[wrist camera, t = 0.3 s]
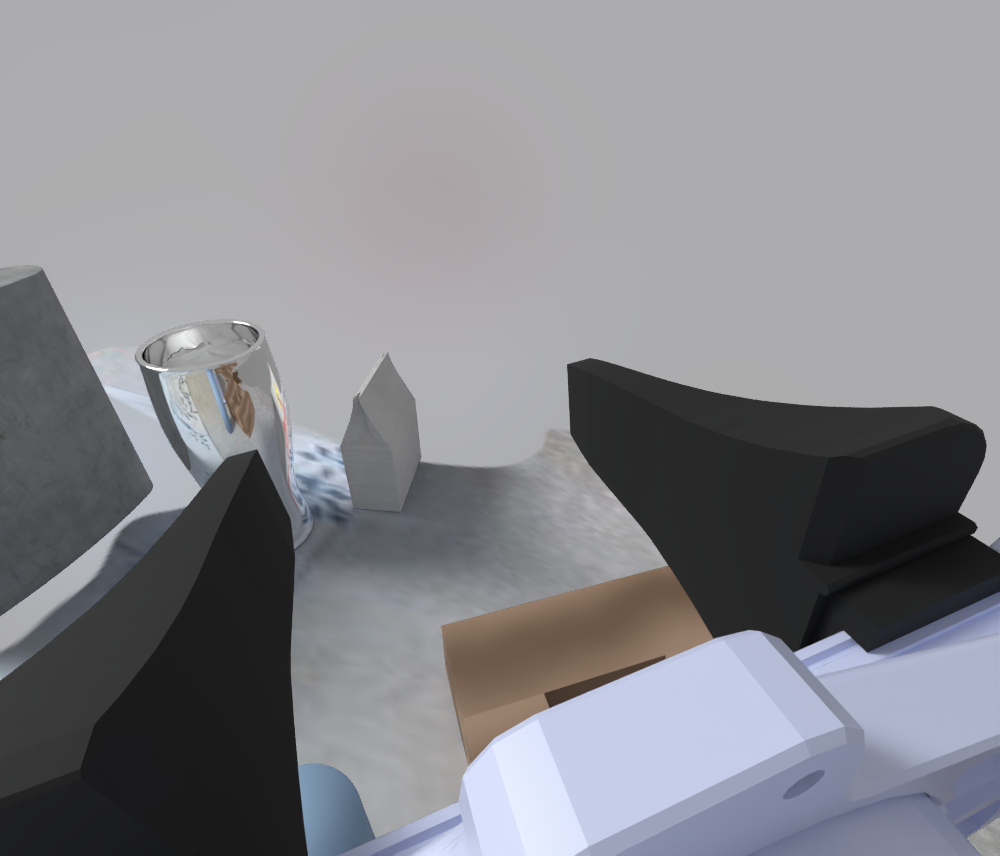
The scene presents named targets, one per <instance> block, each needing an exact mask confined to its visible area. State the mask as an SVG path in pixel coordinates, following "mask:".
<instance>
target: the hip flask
mask: <svg viewBox="0 0 1000 856" xmlns="http://www.w3.org/2000/svg"><path fill="white" fill-rule="evenodd" d="M152 488H153V484H152V482H151V480H150V478H149V476H148V474H147V472H146V470H145V468H144V466H143V464H142V462H141V461H140V458H139V456H138V455H137V453H136V451H135V449H134V447H133V445H132V443H131V441H130V439H129V437H128V435H127V433H126V431H125V429H124V427H123V425H122V423H121V421H120V419H119V417H118V416H117V414H116V411H115V410H114V408H113V406H112V404H111V402H110V400H109V398H108V396H107V394H106V392H105V390H104V388H103V386H102V384H101V382H100V380H99V378H98V376H97V374H96V372H95V370H94V368H93V366H92V365H91V363H90V361H89V359H88V357H87V355H86V353H85V351H84V349H83V347H82V345H81V343H80V341H79V339H78V337H77V335H76V333H75V331H74V329H73V328H72V325H71V323H70V322H69V320H68V318H67V316H66V314H65V312H64V310H63V308H62V306H61V304H60V302H59V300H58V298H57V296H56V294H55V292H54V290H53V288H52V287H51V284H50V282H49V281H48V279H47V277H46V275H45V273H44V271H43V269H42V268H41V267H39V266H31V265H30V266H29V265H28V266H27V265H26V266H13V267H7V268H1V269H0V616H1V615H2V614H4V613H5V612H7V611H8V610H9V609H11V608H12V607H14V606H15V605H17V604H18V603H19V602H21V601H22V600H24V599H25V598H26V597H28V596H29V595H31V594H32V593H33V592H35V591H36V590H37V589H39V588H40V587H41V586H43V585H44V584H46V583H47V582H48V581H49V580H51V579H52V578H53V577H55V576H56V575H57V574H58V573H60V572H61V571H62V570H64V569H65V568H66V567H68V566H69V565H70V564H71V563H73V562H74V561H75V560H76V559H78V558H79V557H80V556H81V555H83V554H84V553H85V552H86V551H87V550H89V549H90V548H91V547H92V546H93V545H95V544H96V543H97V542H98V541H99V540H100V539H102V538H103V537H104V536H105V535H106V534H107V533H108V532H110V531H111V530H112V529H113V528H114V527H115V526H117V525H118V524H119V523H120V522H121V521H122V520H123V519H124V518H125V517H126V516H127V515H128V514H130V513H131V512H132V511H133V510H134V509H135V508H136V506H138V505H139V504H140V503H141V502H142V501H143V499H144V498H145V497H146V496H147V495H148V494H149V493H150V492H151V490H152Z"/></svg>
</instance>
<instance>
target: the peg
mask: <svg viewBox="0 0 1000 856" xmlns="http://www.w3.org/2000/svg"><path fill="white" fill-rule="evenodd" d="M298 772H299V781H300V791H301V800H302V809H303V819H304V827H305V835H306V843H307V850H308V856H338V855H340V854H342V853H344V852H347V851H349V850H351V849H353V848H356V847H358V846H360V845H362V844H365V843H367V842H369V841H371V840H374V839H375V836H374V834H373V831H372V828H371V826H370V823H369V820H368V818H367V815H366V812H365V810H364V807H363V805H362V802H361V799H360V797H359V794H358V792H357V790H356V788H355V786H354V785H353V783H352V782H351V781H350V780H349V778H348V777H347V776H346V775H344V774H343V773H342V772H341V771H339V770H337V769H335V768H333V767H330V766H327V765H322V764H306V765H301V766H298Z"/></svg>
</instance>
